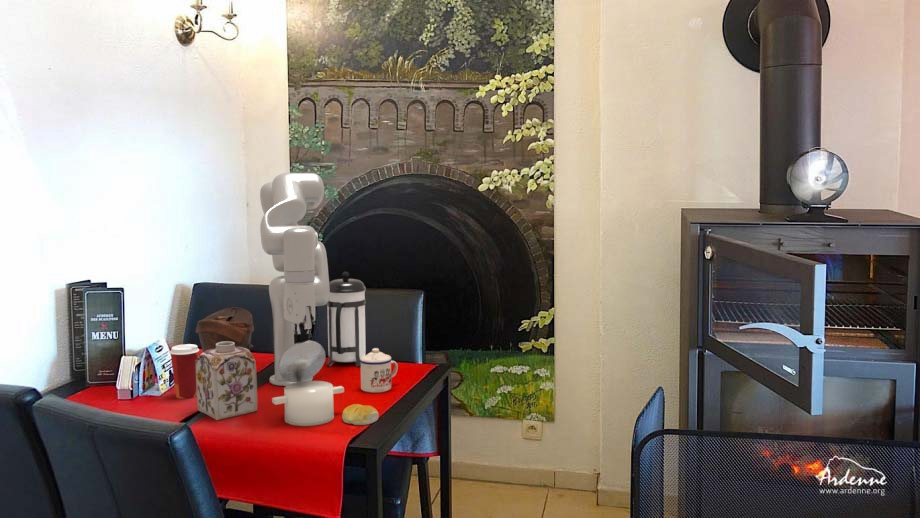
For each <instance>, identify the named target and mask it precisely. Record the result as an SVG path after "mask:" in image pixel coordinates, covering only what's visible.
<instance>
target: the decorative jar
mask: <svg viewBox="0 0 920 518" xmlns="http://www.w3.org/2000/svg"><path fill="white" fill-rule="evenodd" d="M257 378H258V377H257V365H256V360H255V358H254V355H253V354H252V352H251V351H249V349H246V348H242V347H235V343H234V342H229V341H225V342H219V343H217V344H216V348H214V349H210V350H206V351H204V352H203V351H202V353H200V355H198V358H197V360H196V390H197V396H196V402H197V403H196V404H197V410H198V411H199V412H200V413H202V414H205V415H207V416H209V417H210V418H212V419H214V420H216V421H220V420H224V419H228V418H232V417H233V418H234V417H238V416H241V415H247V414H250V413H255V412H257V411H258V381H257V380H258V379H257Z"/></svg>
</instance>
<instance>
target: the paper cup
mask: <svg viewBox="0 0 920 518" xmlns="http://www.w3.org/2000/svg"><path fill="white" fill-rule="evenodd" d="M199 351H200V349H199V348H198V345H197V344H191V343H187V344H185V343H184V344H177V345H174V346H172V347H171V349H170V351H169V354H170V357H171V365H172V366H171V367H172V375H173V383H174V385H173V386H174V394H175V398H176V399H178V400H188V399H189V400H190V399H193V398H197V390H196V360H197V358H198V357H199Z"/></svg>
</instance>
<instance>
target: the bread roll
mask: <svg viewBox="0 0 920 518" xmlns="http://www.w3.org/2000/svg"><path fill="white" fill-rule="evenodd" d="M379 415H380V414H379V411H378V410H377V409H376V408H375V407H374V406H372V405H370V404H369V405H366V404H365V405H363V404H359V403H356V404H355V403H353V404H351V405H347V407H345V408H344V409H343V411H342V415H341V416H342V417H341V418H342V421H343V422H344V423H346V424H351V425H352V424H353V425H354V426H367V425H370V424H373V423H375V422H377V421H378V420H379Z"/></svg>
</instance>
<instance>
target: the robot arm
mask: <svg viewBox="0 0 920 518" xmlns="http://www.w3.org/2000/svg"><path fill="white" fill-rule="evenodd" d="M259 191H260V192H259V199H260V204H261V208H262V209H261V210H262V212H263V215H262V217H261V221H260V224H259V225H260V226H259V228H260V229H259V231H260V233H259V234H260V242H261V248H262V250H263V251H264V253H265V254H267V255H269V256H271V258H272V264H273V268H274V269H275V271H277V272H279V273H283V275H280V276H276V277H274V278H273V279H271V281H270V282H269V286H268V293H269V299H270V304H271V305H270V306H271V311H272V312H271V313H272V325H273V328H272V329H273V355H274V356H273V359H274V374H273V375H271V376H270V377H269V383H270V384H272V385H275V386H280V387H281V386H283V387H286V386H287V385H289V384H292V383H296V382H289V381H286V380H285V379H283V378H282V376H281V375H280V373H279V371H278V363H279V360H280V358H281V356H282V354H283V353H284V352H285V351H286V350H287V349H288V348H289V347H291V346H292V345H294V344H296V343H298V342H301V341H309V333H310V330H311V329H312V323H314V322H315V321H316V307H321V306H322V307H323V306H326V305H327V303H328V301H329V298H330V286H329V283H330V276H329V265H328V257H327V251H326V247H325V245H324V244H323V242H321V240H319V237H318V236H319V235H318V232H317V231H316V230H315V228H314V227H312V226H311V225H299V224H298V222H300V221H301V220H302V219H303V218H304V217H305V216H306V214H307V210H315V209H317V208H318V207H319V206H320V204H321V203H322V202H323V199H324V196H325V185H324V182H323V179H322V177H321V176H320V175H318V174H317V173H315V172H285V173H284V172H283V173H280V174H277V175H276V176H275V177H274V178H273V180H272V181H271V182H270V181H269V182H266V183H264V184H263V185H262V186H261V188H260V189H259ZM313 379H314V376H313V377H311V378H309V379H307V380H305V381H314V380H313ZM301 382H303V381H301Z"/></svg>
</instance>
